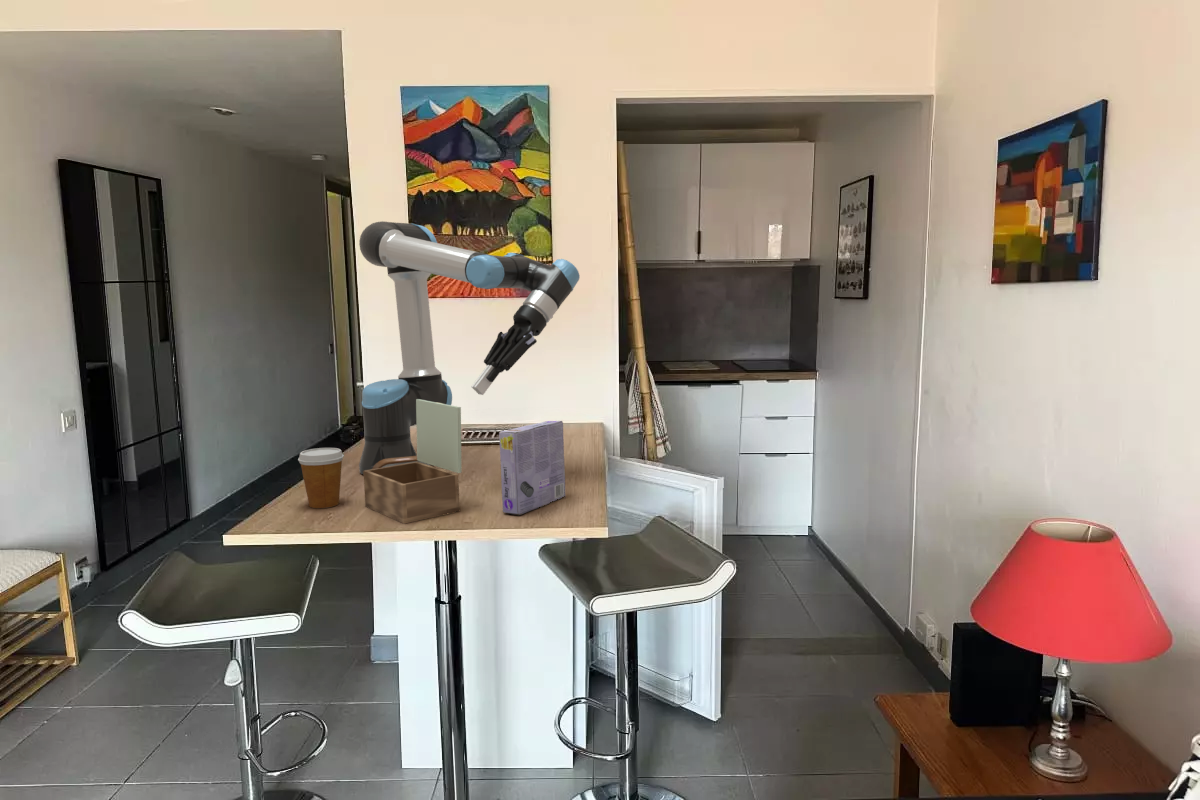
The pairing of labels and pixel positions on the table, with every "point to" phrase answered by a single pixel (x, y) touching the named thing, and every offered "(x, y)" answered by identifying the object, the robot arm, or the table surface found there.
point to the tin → (397, 462)
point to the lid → (439, 434)
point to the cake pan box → (532, 466)
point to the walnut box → (411, 491)
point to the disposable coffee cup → (322, 476)
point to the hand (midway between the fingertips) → (477, 390)
